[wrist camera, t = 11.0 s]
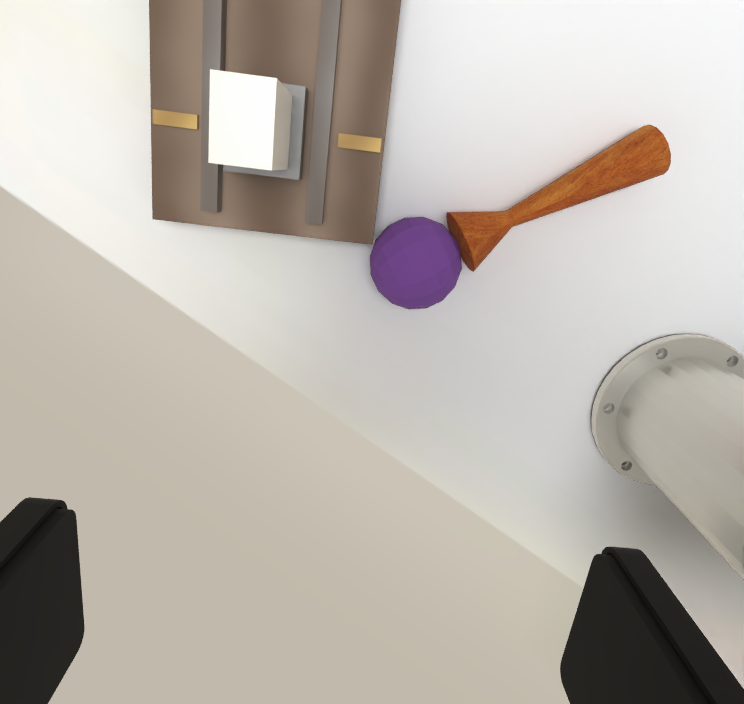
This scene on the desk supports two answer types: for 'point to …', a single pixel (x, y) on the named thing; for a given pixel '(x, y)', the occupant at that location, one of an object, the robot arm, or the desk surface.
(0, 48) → the desk surface
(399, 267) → the kendama
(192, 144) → the brown slider board
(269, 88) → the fader tab
